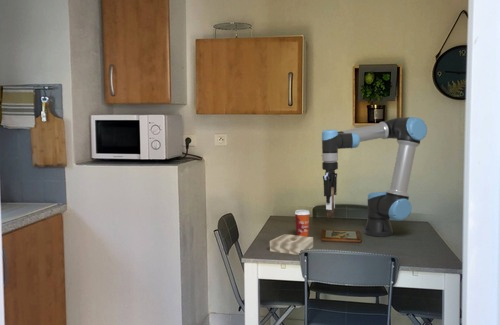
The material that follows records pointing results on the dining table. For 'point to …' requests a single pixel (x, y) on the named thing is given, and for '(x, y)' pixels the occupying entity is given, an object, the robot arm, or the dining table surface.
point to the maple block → (291, 244)
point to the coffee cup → (302, 222)
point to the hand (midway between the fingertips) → (330, 208)
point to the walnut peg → (331, 212)
